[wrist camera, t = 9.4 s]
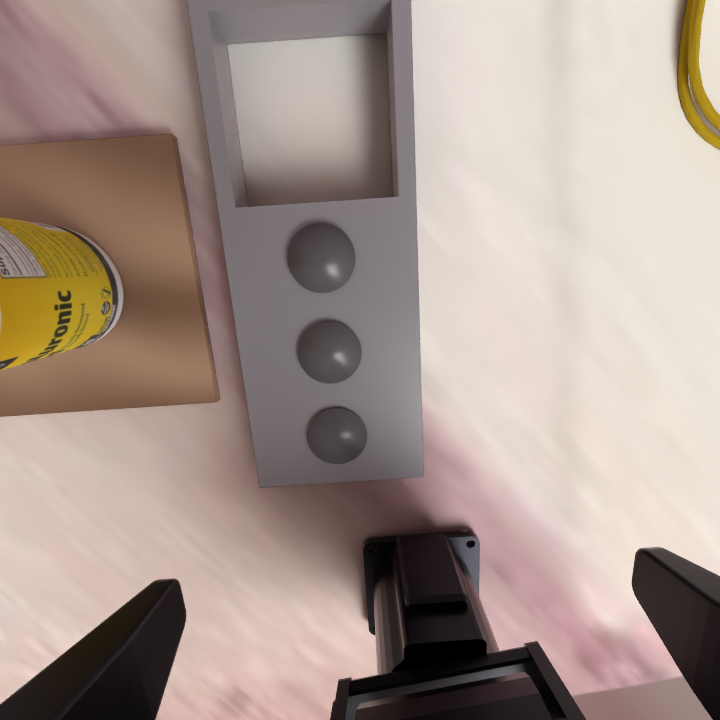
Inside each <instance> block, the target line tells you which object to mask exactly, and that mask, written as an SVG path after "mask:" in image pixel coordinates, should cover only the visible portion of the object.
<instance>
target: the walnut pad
mask: <svg viewBox="0 0 720 720" xmlns="http://www.w3.org/2000/svg"><path fill="white" fill-rule="evenodd" d="M0 218H6V219H13V220H20V221H27V222H34V223H42V224H48V225H55V226H59V227H63V228H67V229H70V230H73V231H76V232H78V233H80V234H82V235H84V236H86V237H87V238H89V239H91V240H92V241H93V242H94V243H96V244H97V245H98V246H99V247H100V248H101V249H102V250H103V251H104V252H105V253H106V254H107V255H108V256H109V258H110V259H111V261H112V262H113V264H114V265H115V267H116V269H117V271H118V273H119V276H120V278H121V282H122V286H123V295H124V298H123V307H122V311H121V314H120V317H119V319H118V321H117V323H116V324H115V326H114V327H113V328H112V330H111V331H110V332H109V333H107V334H106V335H105V336H104V337H102V338H101V339H99V340H98V341H96V342H93V343H91V344H88V345H86V346H83V347H80V348H77V349H74V350H70V351H66V352H63V353H59V354H56V355H53V356H49V357H46V358H43V359H39V360H36V361H32V362H29V363H25V364H22V365H18V366H15V367H12V368H8V369H5V370H2V371H0V417H2V416H17V415H32V414H47V413H62V412H77V411H92V410H107V409H122V408H137V407H153V406H168V405H183V404H198V403H213V402H217V401H218V400H219V399H220V396H219V390H218V384H217V378H216V372H215V366H214V360H213V354H212V348H211V342H210V336H209V330H208V324H207V318H206V312H205V306H204V300H203V294H202V288H201V282H200V276H199V270H198V264H197V258H196V252H195V246H194V240H193V234H192V228H191V222H190V216H189V210H188V204H187V198H186V192H185V186H184V180H183V175H182V169H181V163H180V157H179V151H178V145H177V139H176V137H174V136H173V135H172V134H162V135H148V136H133V137H119V138H104V139H90V140H75V141H61V142H46V143H32V144H17V145H3V146H0Z"/></svg>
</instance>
